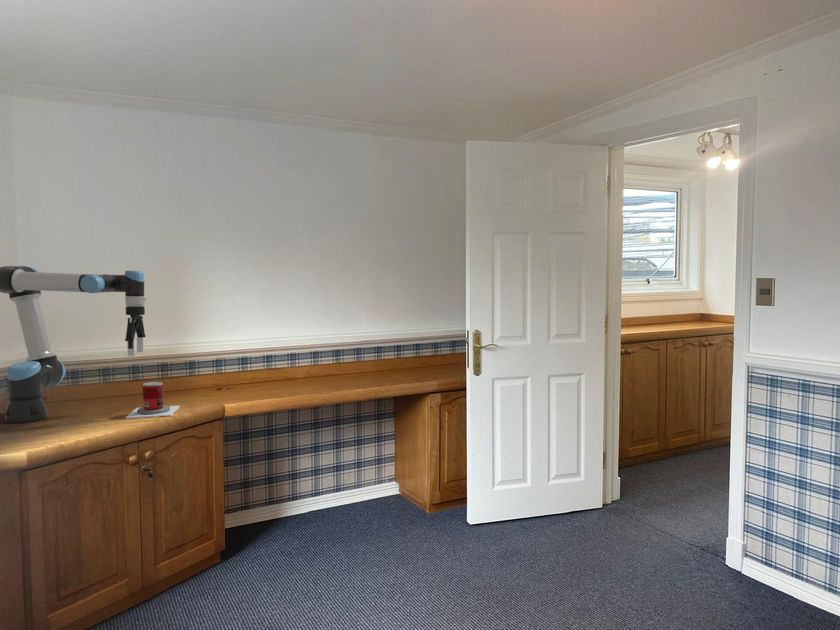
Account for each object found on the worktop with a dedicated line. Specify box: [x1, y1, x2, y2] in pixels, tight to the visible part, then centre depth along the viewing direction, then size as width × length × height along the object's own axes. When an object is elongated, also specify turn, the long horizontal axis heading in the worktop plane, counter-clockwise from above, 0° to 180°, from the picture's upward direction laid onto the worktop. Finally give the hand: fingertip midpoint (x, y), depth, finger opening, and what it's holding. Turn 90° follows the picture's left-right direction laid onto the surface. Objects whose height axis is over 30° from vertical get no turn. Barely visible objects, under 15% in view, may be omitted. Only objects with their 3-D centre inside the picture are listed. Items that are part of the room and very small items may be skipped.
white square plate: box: [125, 404, 180, 420], centre depth 256 cm, size 18×18×2 cm
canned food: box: [142, 381, 164, 410], centre depth 256 cm, size 8×8×11 cm
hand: (135, 354), depth 259 cm, fingers open, 13 cm apart
